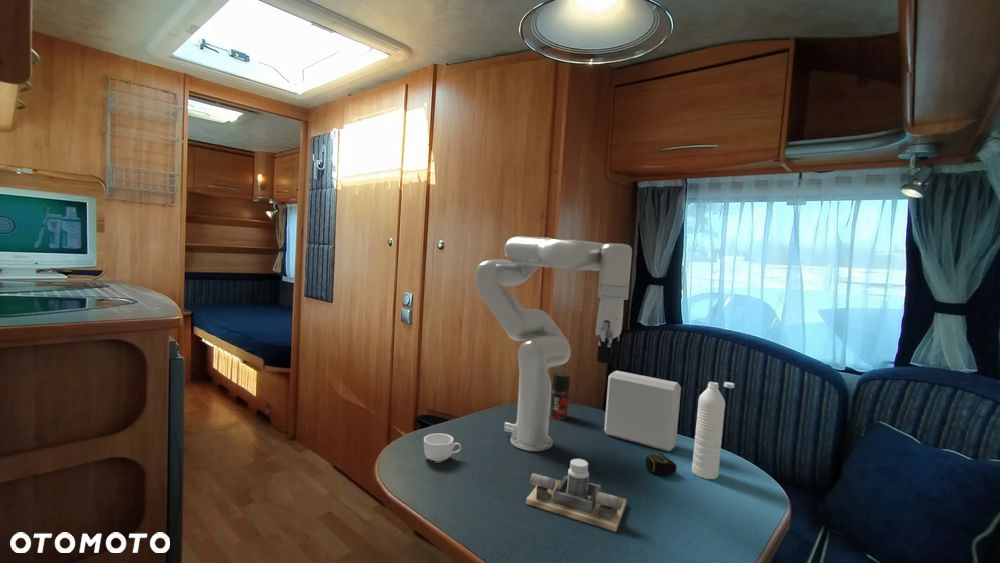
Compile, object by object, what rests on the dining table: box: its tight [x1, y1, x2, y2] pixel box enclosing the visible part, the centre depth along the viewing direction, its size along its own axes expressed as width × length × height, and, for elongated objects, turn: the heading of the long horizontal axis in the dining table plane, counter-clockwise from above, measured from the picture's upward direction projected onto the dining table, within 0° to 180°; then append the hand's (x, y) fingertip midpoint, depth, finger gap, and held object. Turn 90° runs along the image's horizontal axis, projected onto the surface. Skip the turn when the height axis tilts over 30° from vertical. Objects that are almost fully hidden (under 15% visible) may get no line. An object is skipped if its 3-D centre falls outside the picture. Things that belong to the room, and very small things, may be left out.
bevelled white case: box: [603, 370, 682, 452], centre depth 142 cm, size 21×8×20 cm, turn 58°
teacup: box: [423, 432, 462, 461], centre depth 122 cm, size 10×8×5 cm
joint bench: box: [525, 472, 627, 533], centre depth 104 cm, size 20×12×6 cm, turn 65°
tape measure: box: [644, 452, 678, 476], centre depth 123 cm, size 7×7×4 cm
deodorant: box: [549, 371, 571, 421], centre depth 159 cm, size 6×6×15 cm
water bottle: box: [691, 381, 735, 480], centre depth 122 cm, size 9×6×25 cm
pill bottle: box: [567, 458, 590, 500], centre depth 104 cm, size 5×5×8 cm
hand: (607, 358), depth 117 cm, fingers open, 9 cm apart
